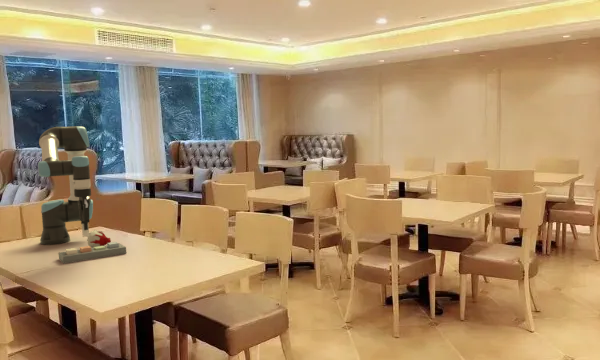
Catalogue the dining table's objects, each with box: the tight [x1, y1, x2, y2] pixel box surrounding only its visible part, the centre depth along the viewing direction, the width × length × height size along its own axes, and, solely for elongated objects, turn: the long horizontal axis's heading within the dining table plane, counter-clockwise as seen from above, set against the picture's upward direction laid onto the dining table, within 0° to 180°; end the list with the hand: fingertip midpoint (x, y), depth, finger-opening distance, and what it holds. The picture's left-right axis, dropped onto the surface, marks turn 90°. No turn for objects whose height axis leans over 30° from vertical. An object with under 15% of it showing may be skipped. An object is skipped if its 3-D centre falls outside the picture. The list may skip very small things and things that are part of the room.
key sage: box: [94, 245, 105, 251], centre depth 251 cm, size 4×4×3 cm
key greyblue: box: [106, 241, 119, 248], centre depth 255 cm, size 4×4×3 cm
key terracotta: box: [79, 245, 92, 253], centre depth 247 cm, size 4×4×3 cm
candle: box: [87, 229, 112, 248], centre depth 269 cm, size 9×11×15 cm
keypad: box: [58, 242, 127, 264], centre depth 249 cm, size 11×29×3 cm, turn 126°
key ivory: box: [64, 247, 78, 255], centre depth 244 cm, size 4×4×3 cm
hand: (85, 236), depth 247 cm, fingers closed
